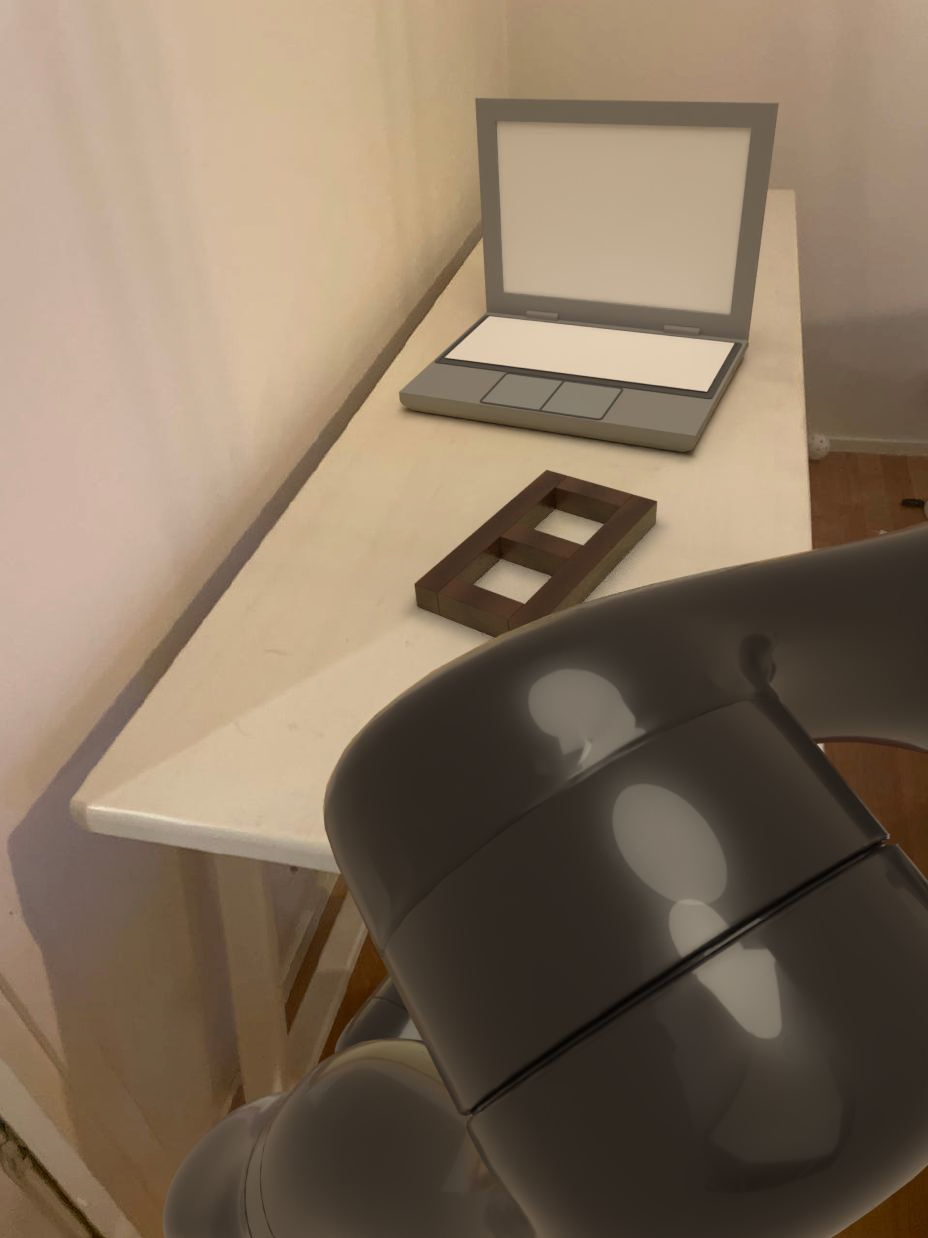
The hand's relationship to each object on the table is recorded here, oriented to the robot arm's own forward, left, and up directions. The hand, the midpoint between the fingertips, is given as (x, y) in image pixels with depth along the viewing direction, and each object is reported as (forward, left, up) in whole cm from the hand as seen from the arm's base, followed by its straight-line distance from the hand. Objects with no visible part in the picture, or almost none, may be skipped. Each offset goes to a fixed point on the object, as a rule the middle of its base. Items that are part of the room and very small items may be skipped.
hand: (643, 743), depth 59 cm
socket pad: (+12, -27, -7) cm, 30 cm away
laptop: (+15, -64, -7) cm, 66 cm away
